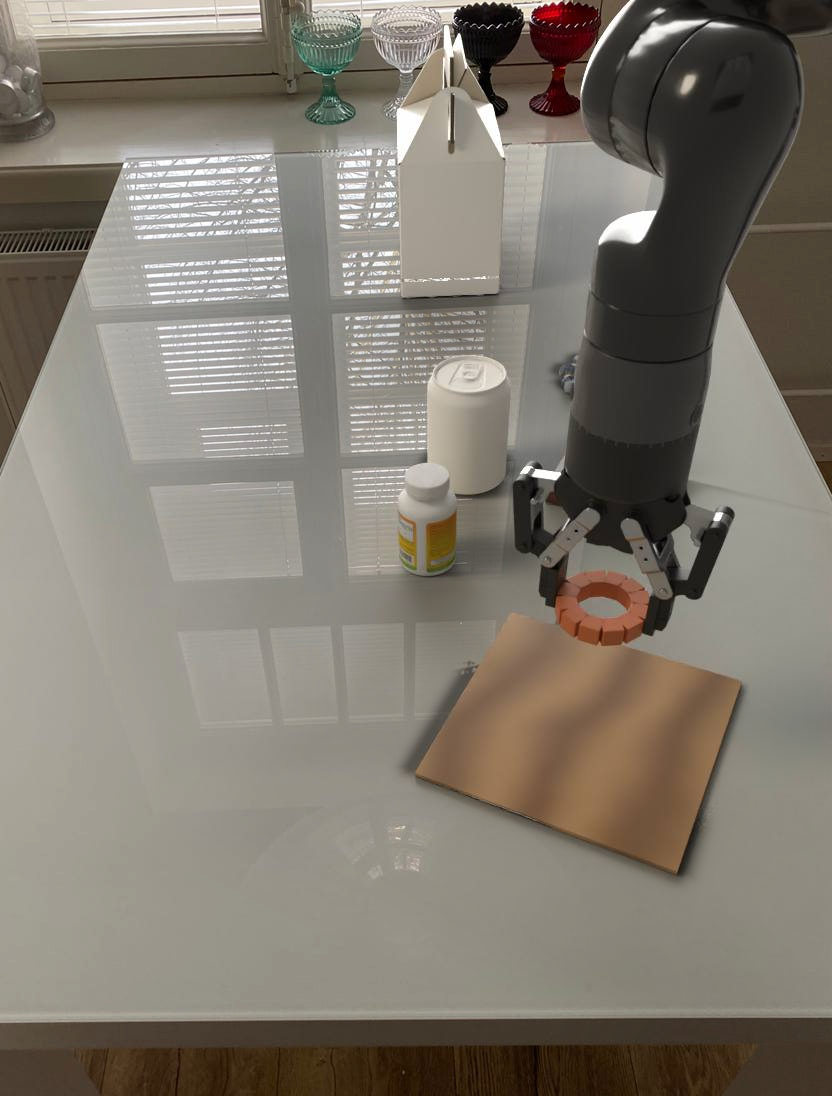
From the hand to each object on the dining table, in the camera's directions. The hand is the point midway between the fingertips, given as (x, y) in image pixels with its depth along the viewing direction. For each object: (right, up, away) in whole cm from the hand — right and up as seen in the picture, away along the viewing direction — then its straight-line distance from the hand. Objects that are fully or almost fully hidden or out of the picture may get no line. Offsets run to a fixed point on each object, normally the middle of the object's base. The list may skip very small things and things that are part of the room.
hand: (601, 613), depth 70 cm
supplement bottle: (-10, +6, +25) cm, 27 cm away
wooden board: (+1, -9, +9) cm, 12 cm away
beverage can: (-6, +15, +34) cm, 38 cm away
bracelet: (+11, +28, +46) cm, 55 cm away
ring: (0, 0, 0) cm, 0 cm away
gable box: (-4, +52, +72) cm, 89 cm away
